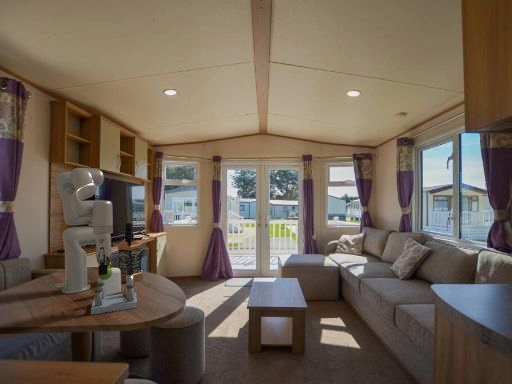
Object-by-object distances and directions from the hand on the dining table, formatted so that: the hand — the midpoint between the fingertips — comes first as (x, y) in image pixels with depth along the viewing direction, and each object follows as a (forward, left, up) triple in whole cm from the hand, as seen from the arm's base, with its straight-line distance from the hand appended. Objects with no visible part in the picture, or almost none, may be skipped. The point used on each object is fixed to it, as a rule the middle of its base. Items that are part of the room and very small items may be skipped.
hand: (103, 272), depth 128 cm
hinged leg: (+10, +2, -12) cm, 16 cm away
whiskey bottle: (+10, +41, -15) cm, 45 cm away
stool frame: (+4, +1, -15) cm, 15 cm away
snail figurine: (0, 0, -3) cm, 3 cm away
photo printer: (+1, +19, -15) cm, 24 cm away
